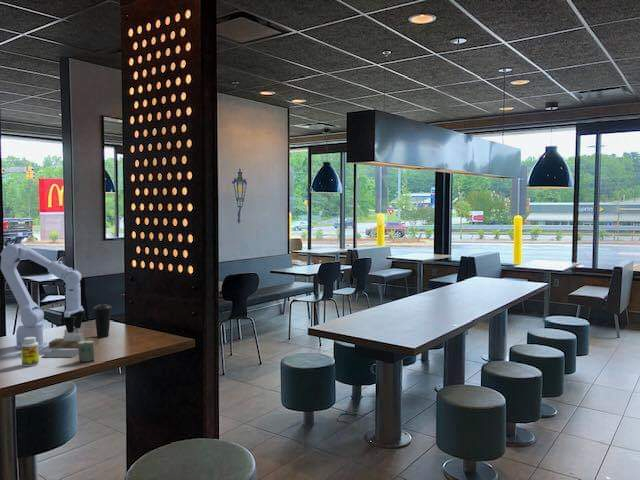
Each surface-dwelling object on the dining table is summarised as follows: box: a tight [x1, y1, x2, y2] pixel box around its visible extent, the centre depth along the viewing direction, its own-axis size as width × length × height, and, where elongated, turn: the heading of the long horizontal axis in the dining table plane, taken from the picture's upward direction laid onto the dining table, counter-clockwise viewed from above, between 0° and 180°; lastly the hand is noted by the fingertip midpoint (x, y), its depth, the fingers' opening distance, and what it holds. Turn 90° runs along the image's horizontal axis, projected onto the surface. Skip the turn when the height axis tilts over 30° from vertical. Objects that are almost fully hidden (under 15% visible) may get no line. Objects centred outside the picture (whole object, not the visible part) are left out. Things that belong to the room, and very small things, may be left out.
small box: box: [77, 341, 95, 363], centre depth 206 cm, size 6×5×8 cm
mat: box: [41, 349, 79, 359], centre depth 215 cm, size 12×10×1 cm
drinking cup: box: [93, 292, 112, 339], centre depth 244 cm, size 8×8×20 cm
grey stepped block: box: [62, 327, 85, 342], centre depth 229 cm, size 7×4×5 cm, turn 93°
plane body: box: [48, 337, 99, 348], centre depth 229 cm, size 18×7×2 cm, turn 93°
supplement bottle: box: [21, 337, 40, 367], centre depth 201 cm, size 6×6×10 cm
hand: (74, 330), depth 229 cm, fingers open, 7 cm apart
